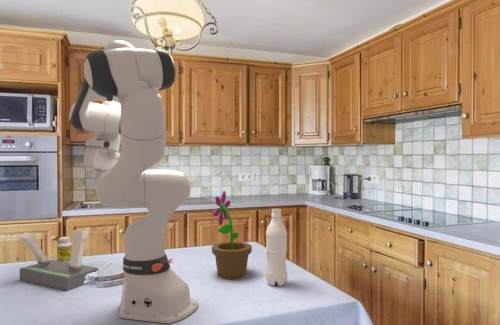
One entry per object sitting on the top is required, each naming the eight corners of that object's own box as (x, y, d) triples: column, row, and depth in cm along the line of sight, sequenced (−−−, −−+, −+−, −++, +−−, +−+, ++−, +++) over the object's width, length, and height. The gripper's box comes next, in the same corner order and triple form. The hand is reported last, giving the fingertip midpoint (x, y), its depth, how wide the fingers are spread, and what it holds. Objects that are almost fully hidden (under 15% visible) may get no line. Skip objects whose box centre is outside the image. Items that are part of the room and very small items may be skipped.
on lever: (51, 261, 128) (33, 233, 121) (45, 267, 126) (27, 238, 119) (43, 260, 129) (25, 232, 123) (37, 265, 127) (18, 237, 121)
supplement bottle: (71, 258, 150) (70, 235, 150) (72, 261, 145) (72, 238, 145) (56, 260, 147) (56, 237, 147) (57, 263, 142) (57, 239, 142)
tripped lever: (82, 270, 120) (88, 231, 123) (75, 271, 118) (82, 230, 120) (73, 269, 122) (79, 230, 125) (66, 269, 120) (73, 229, 122)
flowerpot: (224, 266, 138) (224, 189, 138) (258, 271, 132) (257, 190, 132) (204, 277, 125) (203, 192, 125) (240, 283, 119) (240, 194, 119)
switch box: (98, 279, 124) (97, 266, 124) (67, 291, 113) (67, 277, 113) (51, 270, 134) (51, 258, 134) (19, 280, 123) (19, 267, 123)
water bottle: (291, 283, 120) (291, 209, 119) (278, 289, 114) (278, 211, 114) (275, 278, 125) (274, 206, 124) (261, 283, 119) (261, 209, 119)
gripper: (112, 149, 141) (107, 184, 140) (82, 139, 121) (76, 180, 120) (127, 151, 141) (122, 186, 139) (99, 141, 120) (93, 181, 119)
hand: (101, 183), depth 129 cm, fingers closed
